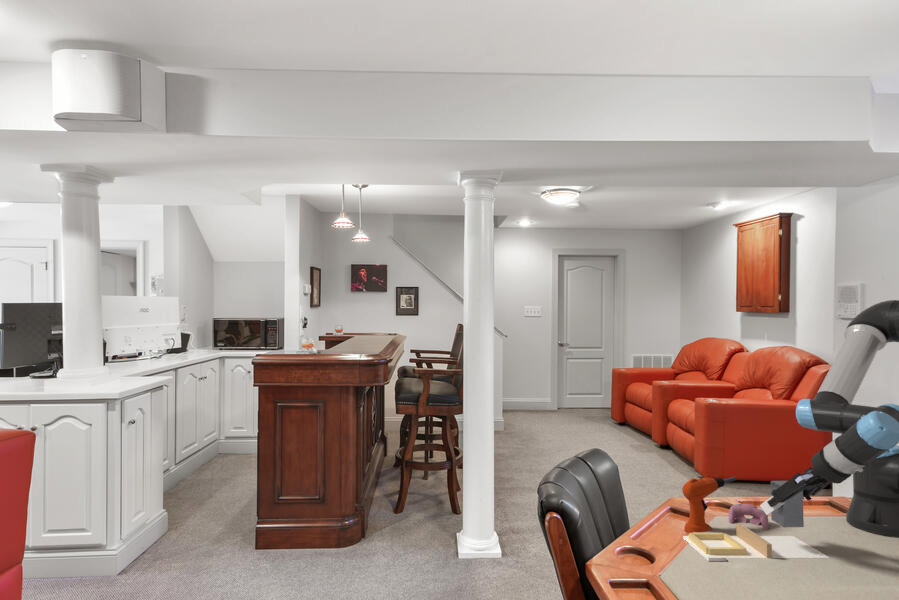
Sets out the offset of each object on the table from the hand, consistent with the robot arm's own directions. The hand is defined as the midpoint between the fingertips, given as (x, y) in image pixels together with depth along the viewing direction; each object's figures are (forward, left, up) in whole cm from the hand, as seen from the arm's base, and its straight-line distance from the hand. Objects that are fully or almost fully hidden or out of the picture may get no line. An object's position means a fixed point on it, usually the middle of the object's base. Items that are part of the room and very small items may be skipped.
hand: (773, 508), depth 138 cm
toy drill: (+12, -10, -10) cm, 18 cm away
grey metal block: (-1, +3, -3) cm, 4 cm away
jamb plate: (+8, +3, -9) cm, 12 cm away
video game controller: (-1, -12, -10) cm, 16 cm away
